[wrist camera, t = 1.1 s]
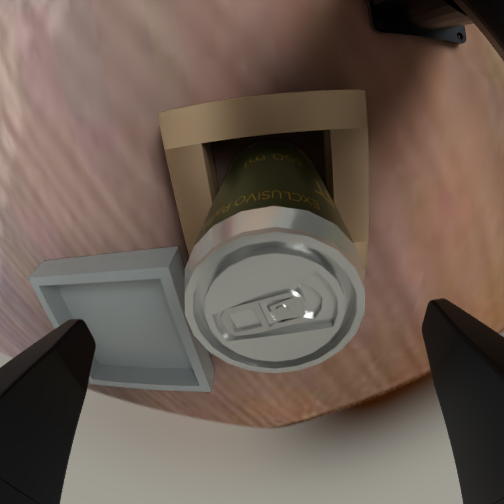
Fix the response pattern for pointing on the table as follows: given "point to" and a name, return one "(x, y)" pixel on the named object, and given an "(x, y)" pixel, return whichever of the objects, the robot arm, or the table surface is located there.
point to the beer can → (274, 266)
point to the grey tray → (129, 317)
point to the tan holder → (262, 123)
